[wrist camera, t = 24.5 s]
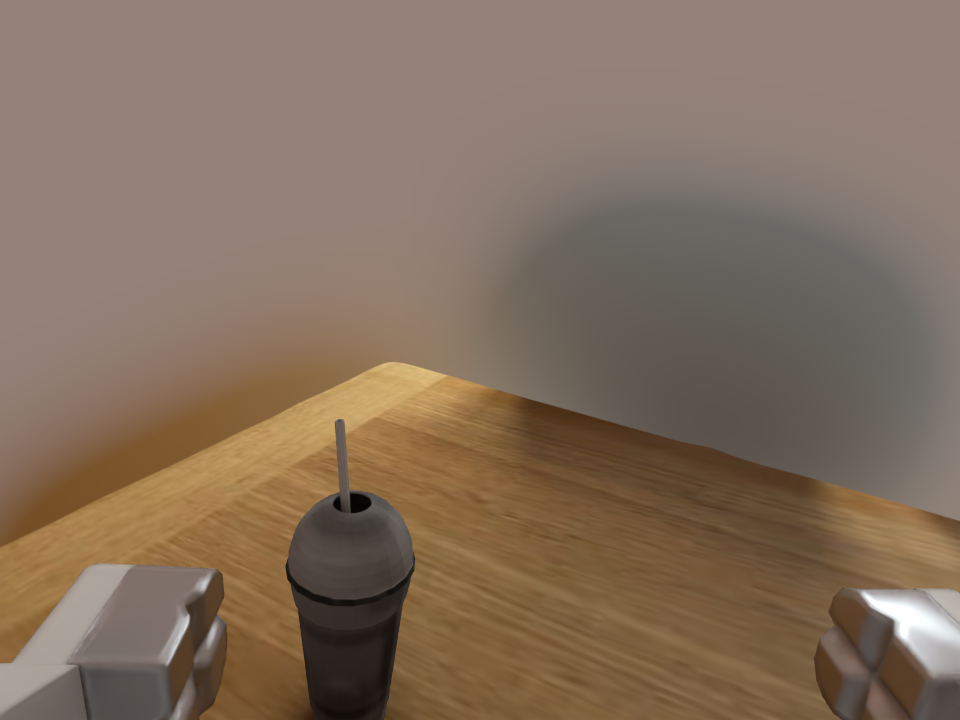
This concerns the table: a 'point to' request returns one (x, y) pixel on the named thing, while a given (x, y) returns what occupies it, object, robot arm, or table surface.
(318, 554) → the beverage cup
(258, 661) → the table surface
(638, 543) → the table surface
